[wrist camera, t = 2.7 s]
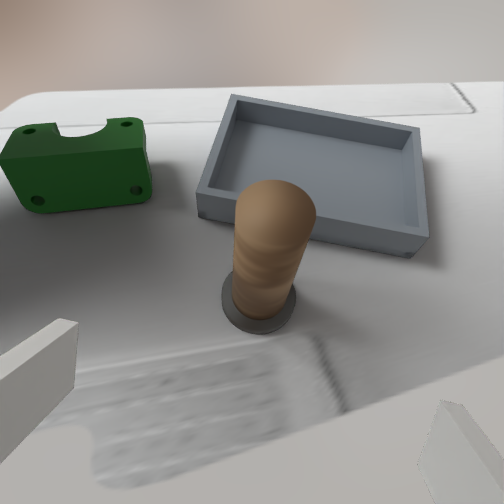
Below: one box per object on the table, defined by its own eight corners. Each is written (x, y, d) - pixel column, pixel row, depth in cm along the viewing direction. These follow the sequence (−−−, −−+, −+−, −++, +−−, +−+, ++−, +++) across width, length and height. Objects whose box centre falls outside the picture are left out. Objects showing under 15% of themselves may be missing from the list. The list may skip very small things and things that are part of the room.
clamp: (141, 196, 40) (161, 122, 34) (140, 231, 36) (163, 153, 30) (15, 169, 35) (16, 77, 29) (-2, 206, 31) (-5, 107, 25)
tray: (198, 216, 33) (195, 192, 30) (230, 121, 41) (231, 93, 38) (410, 258, 33) (429, 237, 30) (405, 153, 40) (419, 127, 37)
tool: (214, 325, 28) (208, 244, 18) (230, 261, 31) (233, 160, 21) (288, 341, 28) (326, 268, 18) (297, 274, 31) (334, 180, 21)
